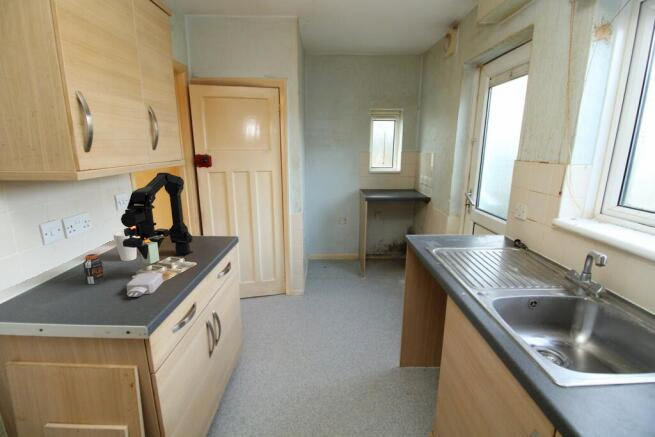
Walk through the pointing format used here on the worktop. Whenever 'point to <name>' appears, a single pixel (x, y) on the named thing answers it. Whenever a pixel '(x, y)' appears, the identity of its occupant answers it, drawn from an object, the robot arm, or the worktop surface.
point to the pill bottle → (93, 269)
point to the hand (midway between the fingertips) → (150, 256)
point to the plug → (151, 253)
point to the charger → (144, 284)
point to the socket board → (167, 267)
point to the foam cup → (124, 252)
